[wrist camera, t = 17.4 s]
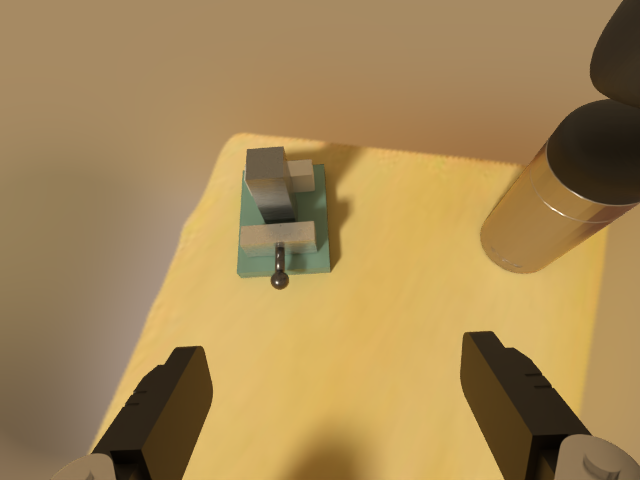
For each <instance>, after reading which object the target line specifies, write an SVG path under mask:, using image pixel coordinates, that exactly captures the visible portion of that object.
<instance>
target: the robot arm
mask: <svg viewBox="0 0 640 480" xmlns="http://www.w3.org/2000/svg"><path fill="white" fill-rule="evenodd" d="M590 78H591V80H592V83H593V85H594V87H595V88H596V89H597V90H598V91H599V92H600V93H602V94H603V95H605V96H607V97H608V98H610V99H606V100H600V101H595V102H592V103H588V104H586V105H583V106H581V107H579V108H577V109H576V110H574V111H573V112H571V113H570V114H569V115H568V116H567V117H566V118H565V119H564V120H563V121H562V122H561V123H560V125H559V126H558V127H557V129H556V130H555V131H554V133H553V134H552V135H551V136H550V138H549V139H548V140H547V142H546V143H545V144H544V146H543V147H542V148H541V149H540V151H539V152H538V154H537V155H536V156H535V158H534V159H533V160H532V161H531V163H530V164H529V165H528V166H527V168H526V169H525V170H524V172H523V173H522V174H521V175H520V177H519V178H518V179H517V181H516V182H515V183H514V185H513V186H512V187H511V188H510V190H509V191H508V192H507V194H506V195H505V196H504V198H503V199H502V200H501V201H500V203H499V204H498V205H497V206H496V208H495V209H494V210H493V212H492V213H491V214H490V216H489V217H488V218H487V219H486V221H485V222H484V224H483V226H482V228H481V234H480V236H481V243H482V246H483V249H484V250H485V252H486V254H487V255H488V256H489V258H490V259H491V260H492V261H493V262H495V263H496V264H497V265H499V266H500V267H502V268H504V269H506V270H509V271H511V272H516V273H532V272H537V271H539V270H541V269H543V268H544V267H546V266H547V265H549V264H550V263H552V262H553V261H555V260H556V259H558V258H559V257H561V256H562V255H564V254H565V253H567V252H568V251H570V250H571V249H573V248H574V247H576V246H577V245H579V244H580V243H582V242H583V241H585V240H586V239H588V238H589V237H591V236H592V235H594V234H595V233H597V232H598V231H600V230H601V229H603V228H604V227H606V226H607V225H609V224H610V223H612V222H613V221H614V220H616V219H617V218H619V217H621V216H622V215H623V214H625V213H626V212H627V211H629V210H631V209H632V208H634V207H635V206H637V205H638V204H639V203H640V0H623V1H622V3H621V4H620V6H619V7H618V9H617V10H616V11H615V13H614V14H613V16H612V17H611V19H610V20H609V22H608V23H607V25H606V27H605V29H604V30H603V32H602V34H601V36H600V38H599V40H598V42H597V44H596V47H595V49H594V52H593V56H592V59H591V64H590ZM460 379H461V385H462V389H463V393H464V395H465V397H466V400H467V402H468V404H469V406H470V408H471V410H472V412H473V414H474V416H475V419H476V421H477V423H478V425H479V427H480V429H481V431H482V433H483V435H484V437H485V440H486V442H487V444H488V446H489V448H490V450H491V452H492V454H493V456H494V458H495V461H496V463H497V465H498V467H499V469H500V471H501V473H502V475H503V477H504V479H505V480H640V466H639V465H638V464H637V462H636V461H635V460H634V459H633V458H632V457H631V456H630V455H628V454H627V453H626V452H625V451H623V450H622V449H620V448H619V447H617V446H616V445H614V444H612V443H610V442H608V441H606V440H603V439H601V438H598V437H594V436H592V435H591V433H590V432H589V431H588V430H587V429H586V427H585V426H584V425H583V424H582V422H581V421H580V420H579V419H578V417H577V416H576V415H575V414H574V412H573V411H572V410H571V409H570V407H569V406H568V405H567V404H566V402H565V401H564V400H563V399H562V397H561V396H560V395H559V394H558V393H557V391H556V390H555V389H554V388H552V385H551V384H550V383H549V381H548V380H547V379H546V378H545V376H542V373H541V371H540V370H539V369H538V368H537V366H536V365H535V364H534V363H533V362H532V360H531V359H530V358H528V357H527V356H525V355H524V354H522V353H521V352H519V351H518V350H516V349H515V348H505V347H504V346H503V344H502V343H501V342H500V340H499V339H498V338H497V336H496V335H495V334H494V333H493V332H492V331H480V332H465V333H464V335H463V342H462V356H461V369H460ZM212 397H213V386H212V381H211V377H210V372H209V368H208V364H207V360H206V355H205V351H204V349H203V347H202V346H189V347H176V348H175V349H174V350H173V352H172V353H171V355H170V356H169V358H168V359H167V361H166V363H165V364H164V365H158V366H156V367H155V368H154V369H153V370H152V371H150V372H149V373H148V374H147V375H146V376H144V377H143V379H142V380H141V381H140V383H139V384H138V386H137V387H136V389H135V390H134V392H133V395H131V396H130V397H129V399H128V400H127V402H126V403H125V407H123V408H122V409H121V411H120V412H119V414H118V415H117V416H116V418H115V419H114V421H113V422H112V424H111V425H110V427H109V428H108V430H107V431H106V432H105V434H104V435H103V437H102V438H101V440H100V441H99V443H98V444H97V446H96V447H95V448H94V450H93V451H92V453H91V454H90V455H86V456H83V457H81V458H78V459H76V460H74V461H73V462H71V463H69V464H68V465H66V466H65V467H63V468H62V469H61V470H60V471H58V472H57V473H56V474H55V475H54V476H53V477H52V478H51V479H50V480H182V478H183V475H184V473H185V470H186V467H187V465H188V462H189V460H190V457H191V455H192V452H193V450H194V447H195V445H196V442H197V440H198V437H199V434H200V432H201V429H202V427H203V424H204V422H205V419H206V417H207V414H208V412H209V409H210V406H211V403H212Z"/></svg>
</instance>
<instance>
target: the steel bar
mask: <svg viewBox="0 0 640 480" xmlns="http://www.w3.org/2000/svg"><path fill="white" fill-rule="evenodd" d="M245 181H246V183H247V185H248V187H249V189H250V192H251V194H252V196H253V198H254V200H255V202H256V204H257V207H258V209H259V211H260V213H261V215H262V217H263V219H264V221H265V224H280V223H294V222H298V202H297V198H296V194H295V190H294V186H293V182H292V178H291V175H290V171H289V167H288V163H287V159H286V155H285V151H284V147H270V148H258V149H247V157H246V174H245Z"/></svg>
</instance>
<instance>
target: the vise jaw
mask: <svg viewBox="0 0 640 480" xmlns="http://www.w3.org/2000/svg"><path fill="white" fill-rule="evenodd" d="M240 246H241V247H242V249H243V250H244V251H245V253H246V254H247V256H248V257H258V256H273V255H275V273H274V274H273V275H272V277H271V284H272V286H273V287H274V288H275V289H278V290H281V289H284V288H286V287H287V285H288V283H289V277H288V275H287V274H286V273H285V255H288V254H303V253H317V235H316V230H315V224H314V221H308V222H294V223H280V224H266V225H252V226H241V235H240Z"/></svg>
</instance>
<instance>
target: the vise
mask: <svg viewBox="0 0 640 480" xmlns="http://www.w3.org/2000/svg"><path fill="white" fill-rule="evenodd" d="M287 163H288V167H289V171H290V175H291V178H292V182H293V186H294V190H295V194H296V198H297V202H298V222H308V221H314V224H315V230H316V235H317V253H303V254H288V255H285V273H286V274H287V275H296V274H312V273H327V272H330V255H329V238H328V220H327V203H326V186H325V170H324V164H320V165H312V159H307V160H294V161H287ZM245 174H246V164H245V170H244V171H243V178H242V195H241V212H240V229H239V246H238V264H237V274H238V275H239V276H240V277H241V278H250V277H265V276H272V275H273V274H274V273H275V255H273V256H258V257H248V256H247V254H246V253H245V251H244V250H243V249H242V247H241V246H240V235H241V226H252V225H266V224H265V221H264V219H263V217H262V215H261V213H260V211H259V209H258V207H257V204H256V202H255V200H254V198H253V196H252V194H251V192H250V189H249V187H248V185H247V183H246V181H245Z"/></svg>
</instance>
